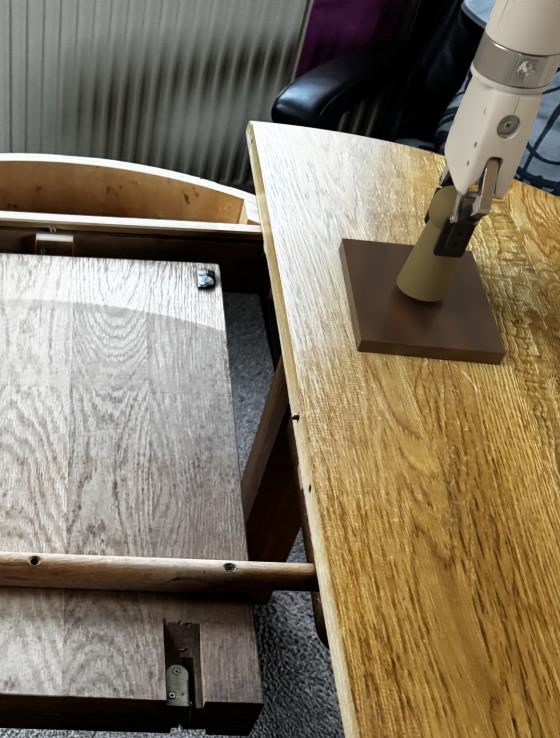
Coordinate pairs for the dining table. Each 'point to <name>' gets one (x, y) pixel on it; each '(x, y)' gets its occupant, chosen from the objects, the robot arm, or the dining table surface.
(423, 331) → the walnut board
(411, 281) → the tan pawn
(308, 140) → the dining table surface
